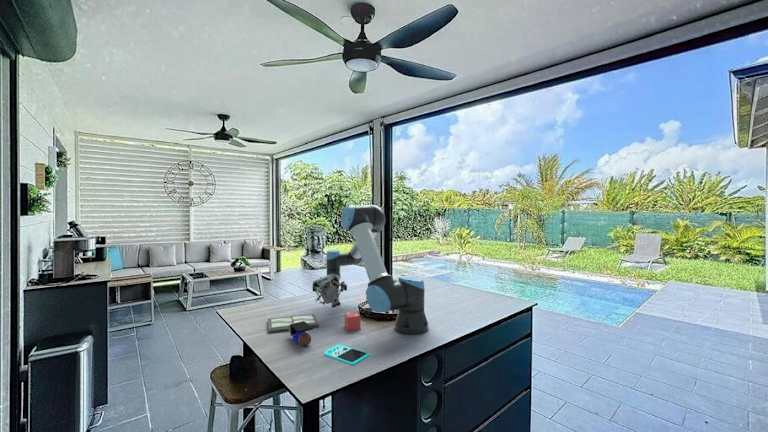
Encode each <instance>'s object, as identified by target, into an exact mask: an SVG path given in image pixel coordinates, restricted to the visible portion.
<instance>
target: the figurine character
mask: <svg viewBox="0 0 768 432" xmlns="http://www.w3.org/2000/svg"><path fill="white" fill-rule="evenodd" d="M288 329H289V331H288V333H289V334H290V337H292V340H295V341H298V344H299V345H301V346H302V347H306V346H308V345H310V344H311V342H312V336H311V334H310V333H308V332H309V331H312V330H314V328H313V327H311V326H310V325H309V324H307V323H306V322H305V321H302V322H298V323H293V324H290V325H289V326H288Z"/></svg>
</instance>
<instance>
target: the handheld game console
mask: <svg viewBox="0 0 768 432" xmlns="http://www.w3.org/2000/svg"><path fill="white" fill-rule="evenodd" d="M323 353H324V356H326V357H328V358H331V359H334V360H336V361H339V362H343V363H345V364H349V365H351V366H354V365H356V364H358V363H360V362H361V361H363V360H365V359H367V358H368V357H370V356H371V355H370V353H369V352H365V351H363V350H360V349H356V348H352V347H349V346H346V345H343V344H340V343H338V344H335V345H334V346H332V347H330V348H328V349H326V350H325V351H324V352H323Z"/></svg>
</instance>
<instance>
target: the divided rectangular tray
mask: <svg viewBox="0 0 768 432" xmlns="http://www.w3.org/2000/svg"><path fill="white" fill-rule="evenodd" d="M302 321H305V322H306V323H307V324H309V325H310V326H311V327H313V329H314V328H319V327H320V324H319V321H318V319H317V317H316V316H315V313H308V314H299V315H292V316H290V315H289V316H282V317H273V318H268V319H267V322H268V323H267V324H268V325H267V326H268V329H267V330H268V334H275V333H283V332H289V329H288V326H289V325H290V324H293V323H298V322H302Z"/></svg>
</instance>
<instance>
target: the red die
mask: <svg viewBox="0 0 768 432" xmlns="http://www.w3.org/2000/svg"><path fill="white" fill-rule="evenodd" d="M361 323H362V321H361V315H360V313H359V312H358V311H354V312H353V311H352V312H345V313H344V327H345V330H347V331H355V330H361V328H362V327H361V326H362V325H361Z"/></svg>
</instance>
